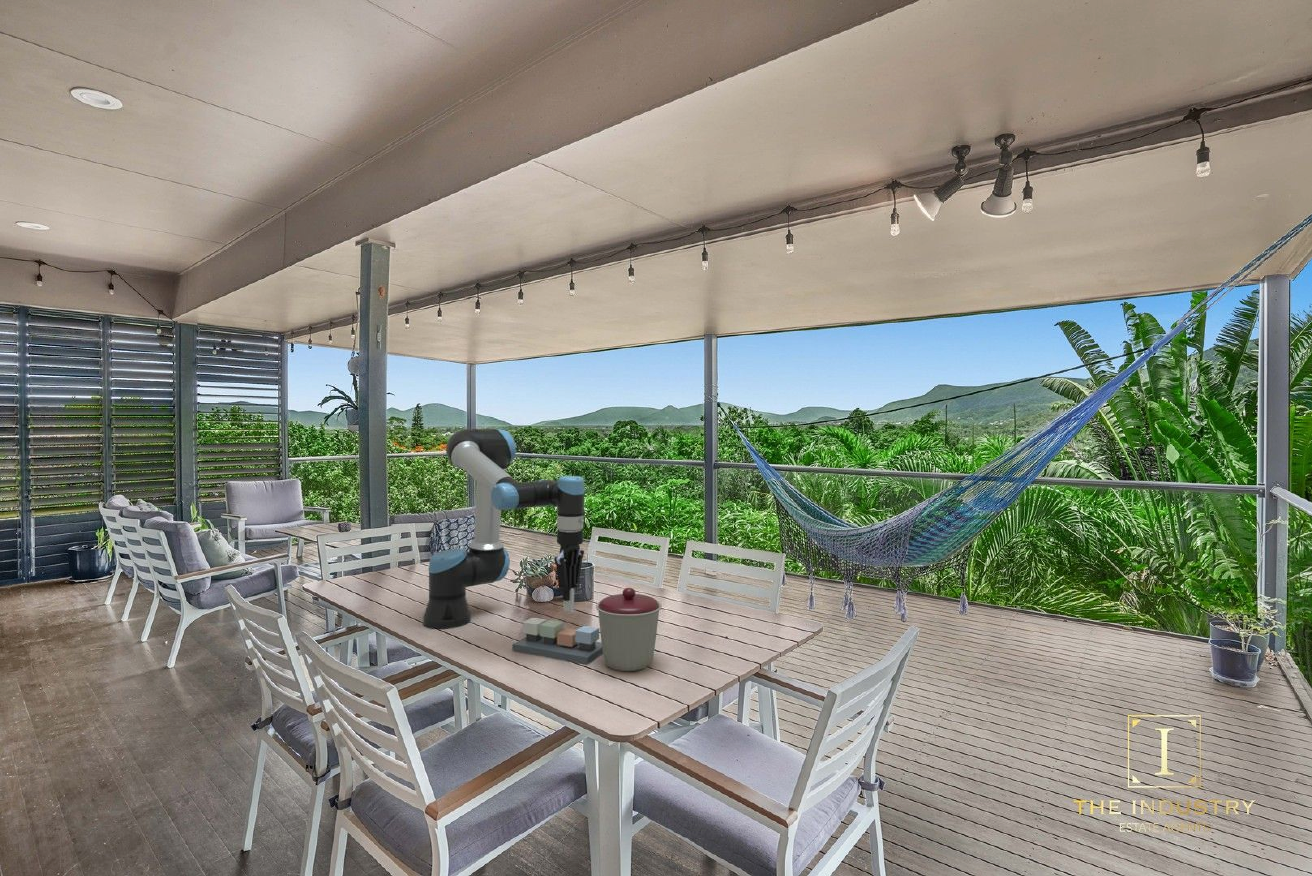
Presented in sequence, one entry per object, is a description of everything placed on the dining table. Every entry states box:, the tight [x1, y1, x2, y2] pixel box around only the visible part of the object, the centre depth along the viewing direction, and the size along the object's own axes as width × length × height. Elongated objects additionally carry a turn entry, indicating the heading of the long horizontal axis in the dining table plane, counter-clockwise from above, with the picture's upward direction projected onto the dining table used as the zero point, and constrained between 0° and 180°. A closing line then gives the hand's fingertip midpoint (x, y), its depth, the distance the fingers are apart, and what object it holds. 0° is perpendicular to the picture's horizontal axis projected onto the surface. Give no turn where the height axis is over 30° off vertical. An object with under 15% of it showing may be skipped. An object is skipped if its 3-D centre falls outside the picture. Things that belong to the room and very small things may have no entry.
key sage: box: [540, 620, 565, 638], centre depth 175 cm, size 5×5×3 cm
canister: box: [595, 587, 663, 672], centre depth 164 cm, size 18×18×21 cm
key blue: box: [575, 625, 600, 645], centre depth 170 cm, size 5×5×3 cm
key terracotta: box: [557, 627, 578, 647], centre depth 173 cm, size 5×5×3 cm
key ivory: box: [522, 617, 547, 635], centre depth 177 cm, size 5×5×3 cm
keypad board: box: [511, 634, 603, 665], centre depth 174 cm, size 25×12×4 cm, turn 67°
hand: (568, 610), depth 173 cm, fingers closed
